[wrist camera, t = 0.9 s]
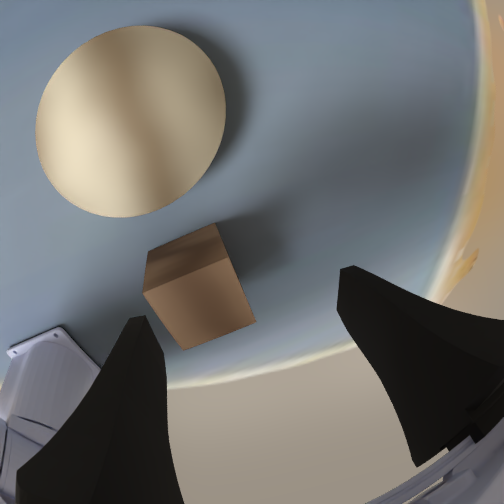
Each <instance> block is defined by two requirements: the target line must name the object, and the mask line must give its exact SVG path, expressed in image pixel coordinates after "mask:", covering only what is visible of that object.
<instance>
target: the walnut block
mask: <svg viewBox="0 0 504 504" xmlns="http://www.w3.org/2000/svg"><path fill="white" fill-rule="evenodd" d="M142 293H143V295H144V296H145V298H146V299H147V301H148V302H149V304H150V305H151V307H152V308H153V310H154V311H155V313H156V314H157V315H158V317H159V318H160V320H161V321H162V323H163V324H164V325H165V327H166V328H167V330H168V331H169V332H170V334H171V335H172V336H173V338H174V339H175V340H176V342H177V343H178V344H179V346H180V347H181V348H182V350H186V349H189V348H192V347H194V346H197V345H200V344H202V343H205V342H208V341H210V340H213V339H216V338H218V337H221V336H223V335H226V334H228V333H231V332H233V331H236V330H238V329H241V328H243V327H246V326H248V325H250V324H253V323H255V322H256V320H255V317H254V315H253V313H252V310H251V308H250V306H249V303H248V301H247V298H246V296H245V294H244V291H243V289H242V286H241V284H240V282H239V279H238V277H237V274H236V272H235V270H234V267H233V265H232V263H231V260H230V258H229V255H228V253H227V251H226V248H225V246H224V244H223V241H222V239H221V236H220V234H219V231H218V229H217V227H216V224H215V223H213V224H211V225H208V226H206V227H203V228H201V229H199V230H196V231H194V232H192V233H189V234H187V235H185V236H182V237H180V238H178V239H175V240H173V241H171V242H168V243H166V244H164V245H162V246H159V247H157V248H155V249H153V250H150V251H148V255H147V262H146V269H145V276H144V284H143V292H142Z"/></svg>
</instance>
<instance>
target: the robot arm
mask: <svg viewBox="0 0 504 504" xmlns="http://www.w3.org/2000/svg"><path fill="white" fill-rule="evenodd" d="M337 312H338V314H339V316H340V318H341V320H342V322H343V324H344V325H345V327H346V329H347V331H348V332H349V334H350V335H351V337H352V338H353V340H354V341H355V343H356V344H357V346H358V347H359V348H360V350H361V351H362V353H363V354H364V356H365V357H366V358H367V360H368V361H369V363H370V364H371V366H372V367H373V369H374V370H375V372H376V373H377V375H378V376H379V378H380V380H381V382H382V384H383V386H384V388H385V390H386V392H387V394H388V396H389V397H390V400H391V402H392V404H393V406H394V409H395V411H396V413H397V415H398V418H399V421H400V423H401V426H402V428H403V431H404V434H405V437H406V440H407V443H408V446H409V450H410V453H411V457H412V461H413V462H414V464H415V466H416V467H419V466H421V465H422V464H423V463H425V462H426V461H428V460H429V459H431V458H432V457H434V456H435V455H436V454H438V453H439V452H440V451H442V450H443V449H445V448H446V447H447V449H448V450H449V452H448V453H447V454H445V455H444V456H443V457H442V458H440V459H439V460H437V461H436V462H435V463H433V464H432V465H430V466H429V467H428V468H426V469H425V470H423V471H422V472H420V473H419V474H417V475H416V476H414V477H412V478H411V479H409V480H408V481H406V482H404V483H403V484H401V485H399V486H398V487H396V488H394V489H392V490H390V491H389V492H387V493H385V494H383V495H381V496H379V497H377V498H375V499H373V500H371V501H369V502H367V503H365V504H402V503H404V502H406V501H407V500H409V499H411V498H412V497H414V496H415V495H417V494H418V493H420V492H421V491H423V490H424V489H426V488H427V487H429V486H430V485H432V484H433V483H434V482H436V481H437V480H439V479H440V478H441V477H443V481H442V482H440V483H438V484H437V485H435V486H433V487H431V488H430V489H428V490H426V491H425V492H423V493H422V494H420V495H418V496H417V497H416V498H414V499H413V500H412V501H410V502H409V503H408V504H504V320H498V319H491V318H486V317H481V316H476V315H472V314H468V313H464V312H461V311H457V310H454V309H451V308H448V307H445V306H442V305H440V304H437V303H434V302H432V301H429V300H427V299H424V298H422V297H420V296H417V295H415V294H413V293H411V292H409V291H406V290H404V289H402V288H400V287H398V286H396V285H394V284H392V283H390V282H388V281H386V280H384V279H382V278H380V277H378V276H376V275H374V274H372V273H370V272H368V271H366V270H364V269H362V268H359V267H357V266H355V265H353V266H349V267H346V268H342V269H340V278H339V290H338V300H337ZM55 333H56V334H55ZM7 354H8V355H9V356H10V357H11V358H12V361H11V363H10V366H9V369H8V371H7V374H6V377H5V380H4V382H3V385H2V388H1V391H0V504H184V501H183V498H182V495H181V492H180V488H179V484H178V481H177V477H176V473H175V469H174V464H173V459H172V454H171V449H170V443H169V436H168V424H167V423H168V421H167V376H166V367H165V359H164V353H163V351H162V349H161V347H160V345H159V343H158V341H157V339H156V337H155V335H154V333H153V331H152V329H151V327H150V325H149V322H148V320H147V318H146V316H145V315H144V316H139V317H134V318H130V319H129V320H128V322H127V324H126V325H125V327H124V329H123V331H122V332H121V334H120V336H119V338H118V340H117V342H116V344H115V345H114V347H113V349H112V351H111V353H110V354H109V356H108V358H107V360H106V362H105V364H104V365H103V367H102V369H100V368H99V367H98V366H97V365H96V364H95V363H94V362H93V361H92V360H91V359H90V358H89V357H88V356H87V355H86V354H85V353H84V351H83V350H82V349H81V348H80V347H79V346H78V345H77V344H76V343H75V342H74V341H73V339H72V338H71V337H70V336H69V335H68V334H67V333H66V331H65V330H64V329H63V328H61V327H57V328H55V329H52V330H50V331H48V332H45V333H43V334H41V335H38V336H36V337H34V338H31V339H29V340H27V341H25V342H22V343H20V344H18V345H15V346H13V347H11V348H9V349H8V350H7Z"/></svg>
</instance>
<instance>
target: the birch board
mask: <svg viewBox="0 0 504 504" xmlns="http://www.w3.org/2000/svg"><path fill="white" fill-rule="evenodd" d="M225 119H226V102H225V94H224V89H223V86H222V82H221V79H220V77H219V75H218V72H217V70H216V68H215V67H214V65H213V63H212V62H211V60H210V59H209V58H208V56H207V55H206V54H205V53H204V52H203V51H202V50H201V49H200V48H199V47H198V46H197V45H196V44H194V43H193V42H192V41H190V40H189V39H187V38H186V37H184V36H182V35H180V34H178V33H175V32H173V31H171V30H167V29H163V28H159V27H153V26H130V27H123V28H118V29H115V30H112V31H108V32H105V33H103V34H101V35H99V36H96V37H94V38H93V39H91V40H89V41H88V42H86V43H84V44H83V45H81V46H80V47H79V48H78V49H76V50H75V51H74V52H73V53H71V54H70V55H69V56H68V57H67V58H66V59H65V60H64V61H63V63H62V64H61V65H60V66H59V68H58V69H57V70H56V71H55V73H54V74H53V76H52V78H51V79H50V81H49V83H48V84H47V86H46V89H45V91H44V93H43V95H42V98H41V101H40V104H39V108H38V113H37V118H36V131H35V134H36V146H37V151H38V156H39V159H40V162H41V165H42V167H43V170H44V171H45V173H46V175H47V177H48V179H49V180H50V182H51V183H52V185H53V186H54V187H55V188H56V190H57V191H58V192H59V193H60V194H61V195H62V196H63V197H65V198H66V199H67V200H68V201H70V202H71V203H72V204H74V205H76V206H77V207H79V208H81V209H83V210H86V211H88V212H90V213H94V214H97V215H101V216H107V217H133V216H139V215H143V214H147V213H150V212H153V211H156V210H158V209H161V208H163V207H165V206H167V205H169V204H170V203H172V202H174V201H175V200H177V199H178V198H180V197H181V196H183V195H184V194H185V193H186V192H187V191H188V190H189V189H191V188H192V187H193V186H194V185H195V184H196V183H197V181H198V180H199V179H200V178H201V177H202V176H203V174H204V173H205V172H206V170H207V169H208V167H209V166H210V164H211V162H212V160H213V159H214V157H215V155H216V153H217V150H218V148H219V145H220V143H221V139H222V136H223V132H224V127H225Z"/></svg>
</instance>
